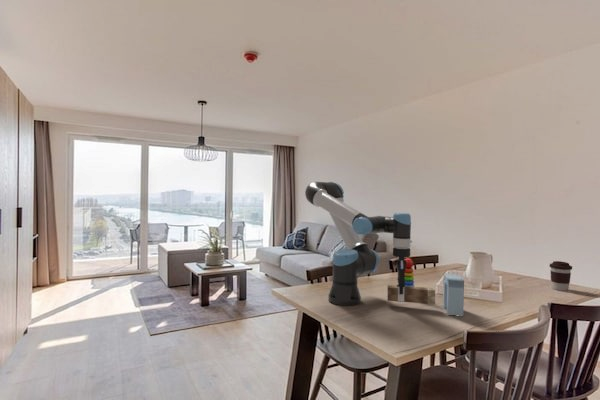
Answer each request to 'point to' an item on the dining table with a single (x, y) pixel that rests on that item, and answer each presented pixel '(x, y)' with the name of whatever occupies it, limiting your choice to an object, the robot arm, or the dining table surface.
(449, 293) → the light blue arch block
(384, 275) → the dining table surface
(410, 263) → the stacking toy
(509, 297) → the dining table surface
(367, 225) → the robot arm
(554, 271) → the coffee cup
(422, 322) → the dining table surface
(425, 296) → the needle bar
